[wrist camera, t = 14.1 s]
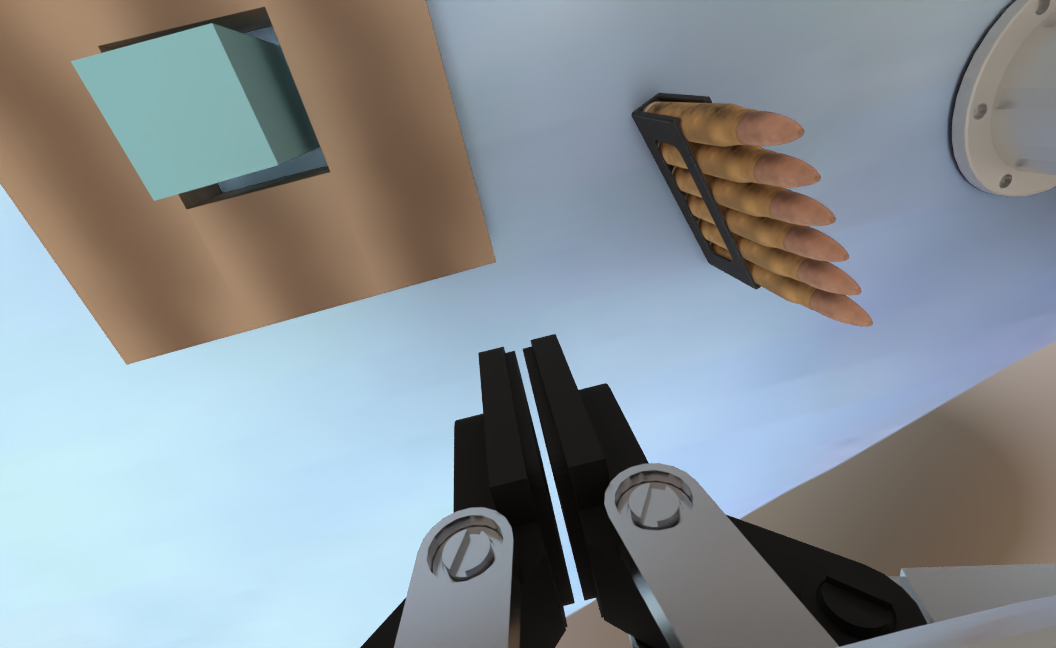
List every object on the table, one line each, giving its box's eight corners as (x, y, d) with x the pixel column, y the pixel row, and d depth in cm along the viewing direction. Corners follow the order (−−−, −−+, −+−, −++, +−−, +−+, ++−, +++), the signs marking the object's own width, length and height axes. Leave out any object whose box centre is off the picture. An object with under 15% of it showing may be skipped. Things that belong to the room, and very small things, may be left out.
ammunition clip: (735, 247, 31) (897, 327, 20) (709, 265, 31) (857, 353, 20) (659, 92, 26) (818, 88, 16) (630, 113, 26) (767, 124, 16)
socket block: (373, -181, 20) (360, -242, 16) (487, 240, 28) (496, 262, 24) (-91, -81, 19) (-214, -123, 15) (167, 328, 27) (126, 364, 23)
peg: (281, 46, 23) (211, 23, 15) (323, 145, 24) (278, 165, 17) (186, 72, 22) (70, 61, 15) (235, 170, 24) (154, 200, 17)
